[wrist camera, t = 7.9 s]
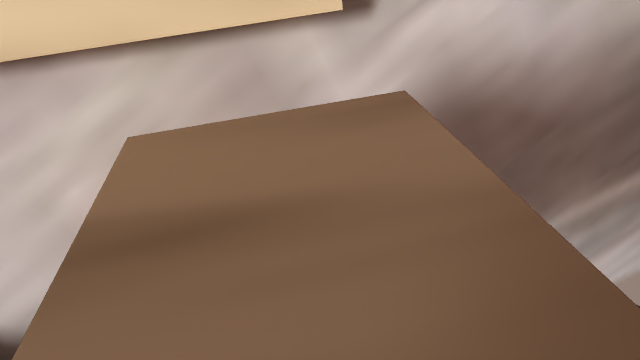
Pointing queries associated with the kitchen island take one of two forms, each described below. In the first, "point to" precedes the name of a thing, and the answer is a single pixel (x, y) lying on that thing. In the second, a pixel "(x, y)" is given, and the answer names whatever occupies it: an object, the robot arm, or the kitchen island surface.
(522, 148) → the kitchen island surface
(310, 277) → the block
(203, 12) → the plank
